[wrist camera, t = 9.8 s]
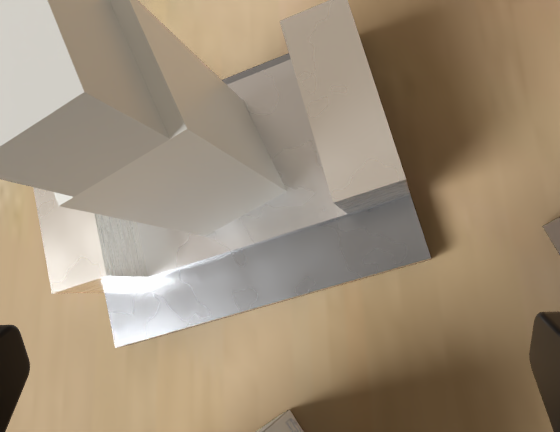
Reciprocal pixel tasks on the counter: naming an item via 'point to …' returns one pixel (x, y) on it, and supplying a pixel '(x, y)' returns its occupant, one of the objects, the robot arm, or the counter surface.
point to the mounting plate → (270, 216)
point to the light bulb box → (282, 424)
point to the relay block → (554, 232)
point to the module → (124, 118)
